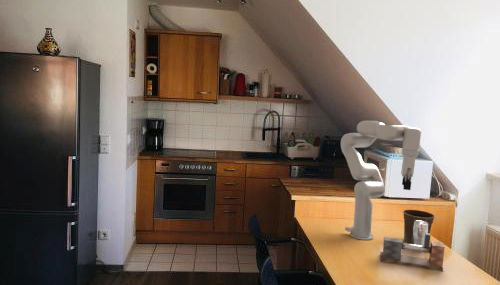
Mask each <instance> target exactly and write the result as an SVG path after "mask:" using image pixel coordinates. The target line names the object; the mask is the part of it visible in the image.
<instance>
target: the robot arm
mask: <svg viewBox="0 0 500 285" xmlns="http://www.w3.org/2000/svg"><path fill="white" fill-rule="evenodd" d="M356 125H357V126H356V131H357V132H349V133H345V134H343V135H342V137H341V140H340V149H341V153H342V154H343V155H344V157H345V160H346V162H347V166H348V168H349V171H350V174H351V176H352V178H353V179H354V180H356V181H358V182H357V183H356V184H355V185H354V188H353V189H354V191H353V192H354V215H353V216H354V217H353V226H351V227H348V226H345V228H344V230H345V231H347V232H348V233H349V232H350V233H349V236H350V237H352V238H353V239H356V240H361V241H362V240H363V241H369V240H372V239H373V238H374V234H372V233H371V232H372V222H373V202H372V201H371V199H373V198H381V197H383V196H384V195H385V193H386V187H385V184H384V180H383V178H382V175H381V173H380V170H379V168H378V167H377V165H375V164H374V163H371V162H364V160H363V157H362V155H361V154H360V152H359V151H358V150H357V149H358V148H363V149H364V148H368V147H370V146H371V145H372V144H373V143H374V142H375V141H376V140H384V141H400V142H402V147H401V148H402V149H401V156H402V162H401V163H402V165H401V172H400V175H401V177H402V184H401V185H402V186H403V190H407V191H411V189H412V188H411V187H412V178H413V177H414V171H415V165H416V164H415V163H416V158H418V157H419V153H420V144H421V136H422V130H421V129H420V128H418V127H411V126H408V125H402V124H401V125H398V124H397V125H395V124H393V125H390V124H385V123H384V122H381V121H378V120H362V121H360V122H359V123H358V124H356ZM356 148H357V149H356Z"/></svg>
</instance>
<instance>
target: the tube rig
mask: <svg viewBox="0 0 500 285" xmlns="http://www.w3.org/2000/svg"><path fill="white" fill-rule="evenodd" d="M402 243H403V240H402V239H400V238H395V237H388V236H384V237H383V245H382V246H383V247H382V251H380V254H379V257H380V259H379V260H380V263H386V264H393V265H399V266H404V267H405V266H406V267H411V268H412V267H413V268H417V269H425V270H429V271H430V270H431V271H437V272H444V256H445V245H444V243H443V241H437V240H430V246H429V247H432V252H431V253H428V254H429V255H428V256H429V257H428V258H426V257H420V256H419V257H417V256H413V255H406V254H405V255H404V254H402V250H403V249H402Z"/></svg>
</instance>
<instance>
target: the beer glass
mask: <svg viewBox="0 0 500 285" xmlns="http://www.w3.org/2000/svg"><path fill="white" fill-rule="evenodd" d="M425 233H428V223H427V222H425V221H420V220H416V221H414V227H413V238H414V245H421V246H424V239H425ZM415 252H416V253H418V252H417V251H415Z"/></svg>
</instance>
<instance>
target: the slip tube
mask: <svg viewBox="0 0 500 285" xmlns="http://www.w3.org/2000/svg"><path fill="white" fill-rule="evenodd" d="M430 243H431V232H430V233H425V239H424V246H421V245H414V244H411V243H408V242H406V243H405V242H402V250H404V251H411V252H416V251H417V252H416V253H425V254H429V253H431V252H432V247H430Z"/></svg>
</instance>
